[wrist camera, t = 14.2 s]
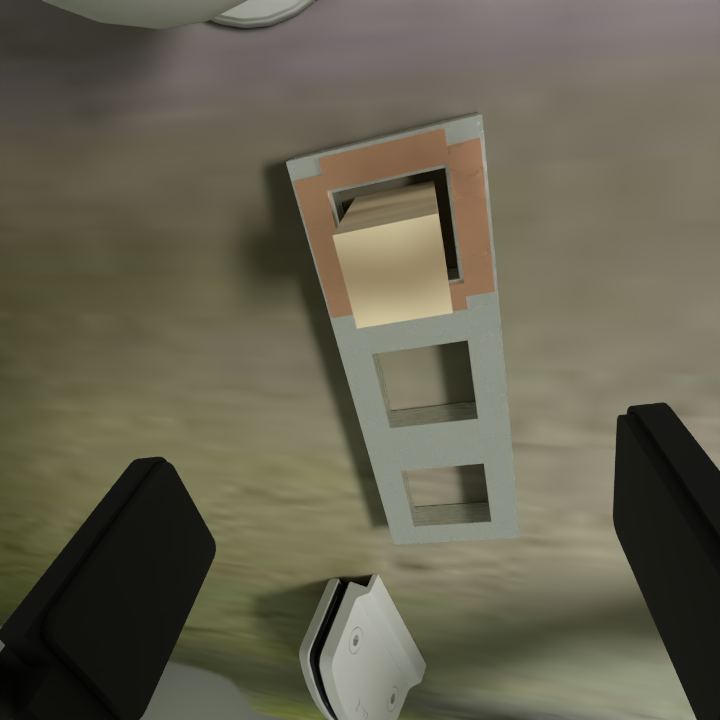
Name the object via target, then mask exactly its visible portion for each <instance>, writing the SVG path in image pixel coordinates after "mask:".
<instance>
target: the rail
mask: <svg viewBox="0 0 720 720" xmlns="http://www.w3.org/2000/svg"><path fill="white" fill-rule="evenodd" d="M286 165H287V168H288V172H289V175H290V179H291V182H292V186H293V189H294V193H295V196H296V200H297V203H298V207H299V210H300V214H301V217H302V221H303V225H304V228H305V232H306V235H307V239H308V242H309V246H310V249H311V253H312V256H313V260H314V263H315V267H316V270H317V274H318V277H319V281H320V285H321V288H322V292H323V295H324V299H325V302H326V306H327V309H328V313H329V316H330V320H331V323H332V327H333V330H334V334H335V337H336V341H337V345H338V348H339V352H340V355H341V359H342V362H343V366H344V369H345V373H346V376H347V380H348V383H349V387H350V390H351V394H352V397H353V401H354V405H355V408H356V412H357V415H358V419H359V422H360V426H361V429H362V433H363V436H364V440H365V443H366V447H367V450H368V454H369V457H370V461H371V465H372V468H373V472H374V475H375V479H376V482H377V486H378V489H379V493H380V496H381V500H382V503H383V507H384V510H385V514H386V517H387V521H388V525H389V528H390V532H391V535H392V539H393V542H394V545H396V544H414V543H433V542H451V541H469V540H487V539H506V538H520V531H519V520H518V509H517V498H516V487H515V476H514V465H513V453H512V442H511V431H510V420H509V409H508V398H507V387H506V376H505V364H504V353H503V342H502V331H501V320H500V309H499V298H498V286H497V275H496V264H495V253H494V242H493V231H492V220H491V209H490V197H489V186H488V175H487V164H486V153H485V142H484V131H483V119H482V114H481V113H478V112H476V113H472V114H468V115H464V116H460V117H456V118H452V119H448V120H444V121H439V122H435V123H431V124H427V125H423V126H419V127H415V128H411V129H407V130H403V131H399V132H394V133H390V134H386V135H382V136H378V137H374V138H370V139H366V140H362V141H358V142H353V143H349V144H345V145H341V146H337V147H333V148H329V149H325V150H321V151H317V152H313V153H308V154H304V155H300V156H296V157H294V158H292V159H290V160H288V161H286ZM441 168H445V175H446V182H447V190H448V198H449V205H450V213H451V221H452V228H453V236H454V244H455V251H456V259H457V267H454V268H449V269H447V274H448V281H449V288H450V295H451V303H452V310H453V313H450V314H444V315H438V316H431V317H425V318H419V319H413V320H407V321H401V322H395V323H388V324H382V325H376V326H370V327H364V328H358V329H357V327H356V323H355V319H354V316H353V312H352V308H351V304H350V300H349V296H348V293H347V289H346V285H345V281H344V277H343V274H342V270H341V266H340V262H339V258H338V255H337V251H336V247H335V243H334V239H333V234H334V232H335V230H336V229H337V227H338V226H339V224H340V222H341V221H342V219H343V217H344V216H345V214H344V210H343V205H342V201H341V197H340V193H339V191H343V190H347V189H352V188H356V187H361V186H365V185H370V184H374V183H378V182H383V181H387V180H392V179H396V178H401V177H405V176H410V175H414V174H419V173H423V172H428V171H432V170H437V169H441ZM460 341H467V343H468V351H469V358H470V366H471V374H472V381H473V389H474V396H475V401H474V402H465V403H457V404H448V405H439V406H431V407H422V408H414V409H405V410H396V411H391V407H390V402H389V398H388V394H387V390H386V386H385V382H384V377H383V373H382V369H381V365H380V361H379V356H378V353H383V352H390V351H397V350H404V349H411V348H418V347H425V346H432V345H439V344H446V343H453V342H460ZM472 464H483V465H484V473H485V481H486V488H487V496H488V502H479V503H465V504H451V505H437V506H423V507H414V503H413V499H412V495H411V490H410V486H409V482H408V478H407V474H406V470H416V469H427V468H438V467H450V466H461V465H472Z"/></svg>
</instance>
